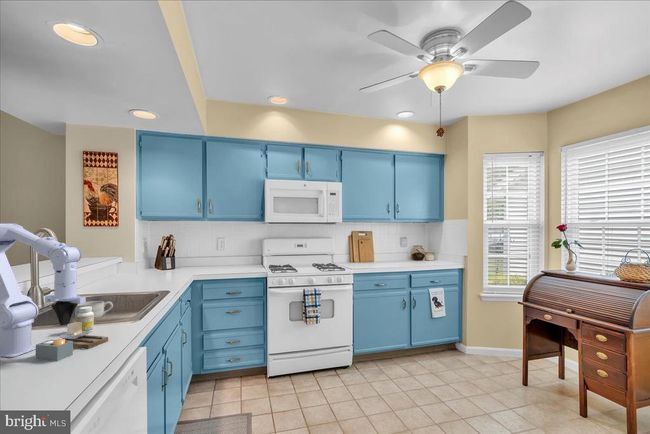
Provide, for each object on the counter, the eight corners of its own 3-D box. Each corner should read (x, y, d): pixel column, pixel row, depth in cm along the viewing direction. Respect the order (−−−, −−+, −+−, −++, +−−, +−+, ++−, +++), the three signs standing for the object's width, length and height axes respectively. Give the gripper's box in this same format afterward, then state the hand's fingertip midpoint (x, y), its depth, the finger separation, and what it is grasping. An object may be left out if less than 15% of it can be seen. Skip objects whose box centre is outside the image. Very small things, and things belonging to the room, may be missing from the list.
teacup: (69, 325, 137) (69, 306, 137) (81, 317, 148) (81, 300, 148) (106, 322, 141) (107, 303, 141) (115, 315, 151) (116, 298, 151)
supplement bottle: (90, 333, 126) (90, 308, 127) (74, 334, 125) (74, 309, 125) (95, 329, 132) (96, 305, 132) (80, 330, 130) (80, 306, 130)
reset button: (50, 357, 102) (50, 341, 102) (59, 354, 105) (60, 338, 105) (57, 358, 101) (58, 342, 102) (67, 354, 104) (67, 339, 105)
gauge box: (35, 359, 102) (35, 343, 102) (51, 352, 107) (52, 337, 107) (57, 361, 100) (57, 345, 100) (72, 354, 105) (73, 339, 105)
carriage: (59, 338, 114) (60, 325, 114) (75, 332, 119) (75, 320, 119) (73, 339, 113) (74, 326, 113) (88, 333, 118) (88, 321, 118)
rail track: (54, 346, 113) (55, 339, 113) (76, 338, 121) (76, 332, 121) (88, 349, 110) (88, 342, 110) (108, 341, 118) (108, 334, 118)
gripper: (35, 284, 105) (34, 326, 104) (71, 286, 101) (70, 329, 101) (57, 280, 111) (56, 320, 111) (91, 282, 108) (91, 323, 108)
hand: (64, 324), depth 107 cm, fingers closed
